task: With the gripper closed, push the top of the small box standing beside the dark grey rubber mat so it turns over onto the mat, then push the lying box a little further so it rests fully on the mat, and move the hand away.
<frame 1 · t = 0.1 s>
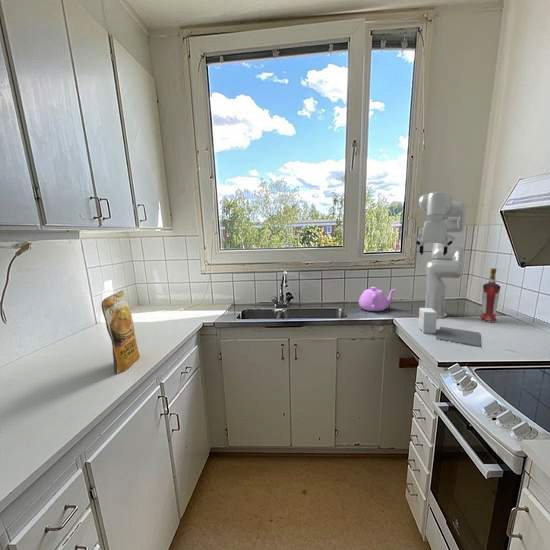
hand: (432, 254, 138), 37 cm above the worktop, tool pointing down, fingers open, 9 cm apart
teapot: (376, 309, 178), on the worktop
mat: (458, 336, 131), on the worktop
pancake mix bag: (125, 364, 111), on the worktop
liquor: (487, 321, 152), on the worktop
small box: (426, 331, 139), on the worktop
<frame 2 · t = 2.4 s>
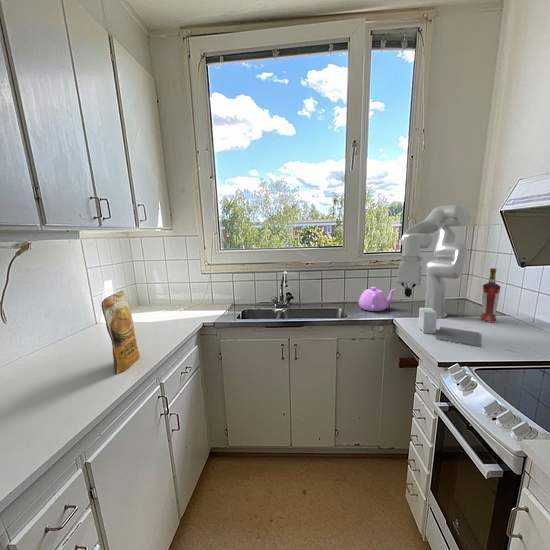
hand: (407, 296, 141), 16 cm above the worktop, tool pointing down, fingers closed
nothing on the worktop moved.
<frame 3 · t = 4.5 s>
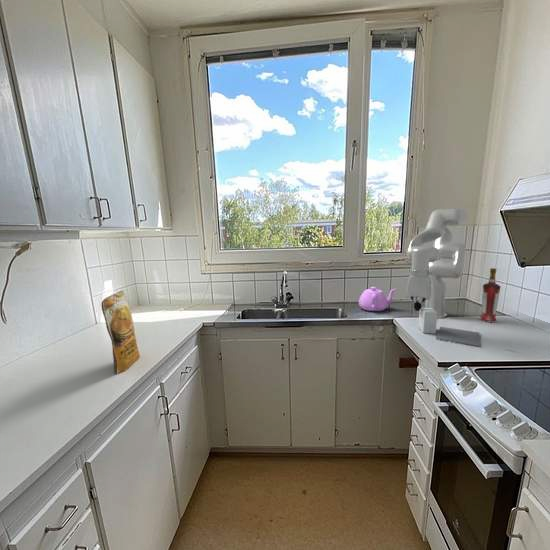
hand: (417, 310, 140), 10 cm above the worktop, tool pointing down, fingers closed
small box: (426, 331, 139), on the worktop, touching gripper
everything else where it was.
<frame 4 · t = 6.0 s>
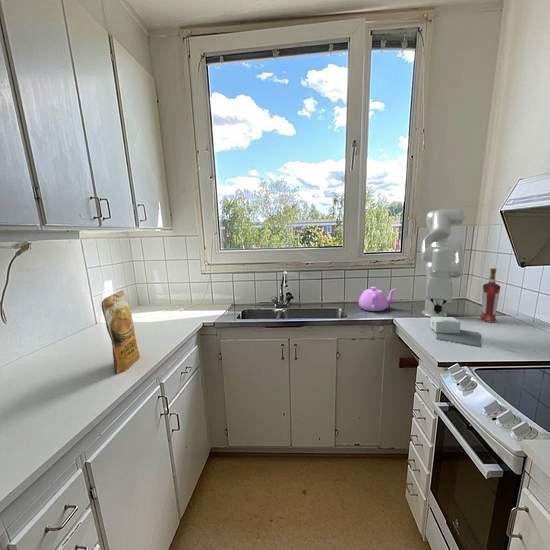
hand: (437, 312, 135), 10 cm above the worktop, tool pointing down, fingers closed
small box: (432, 324, 138), point 3 cm above the worktop, touching mat
everything else where it was.
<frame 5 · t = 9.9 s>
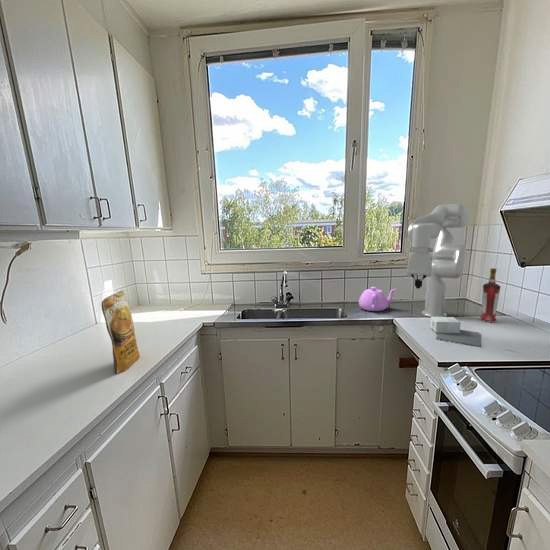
hand: (418, 287, 139), 21 cm above the worktop, tool pointing down, fingers closed
nothing on the worktop moved.
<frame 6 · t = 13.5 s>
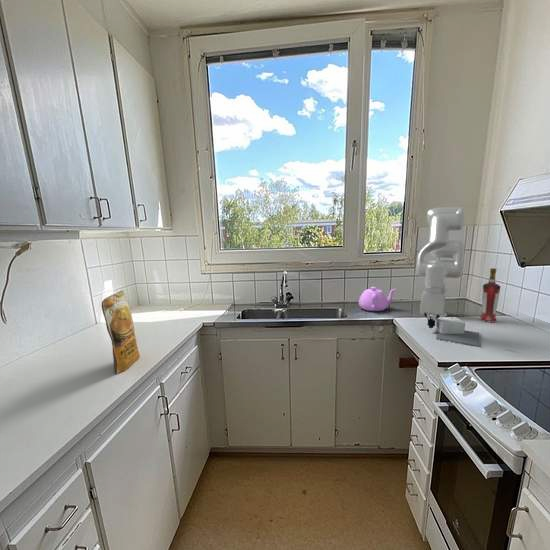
hand: (431, 327, 138), 2 cm above the worktop, tool pointing down, fingers closed
small box: (436, 325, 137), point 3 cm above the worktop, touching gripper
everything else where it was.
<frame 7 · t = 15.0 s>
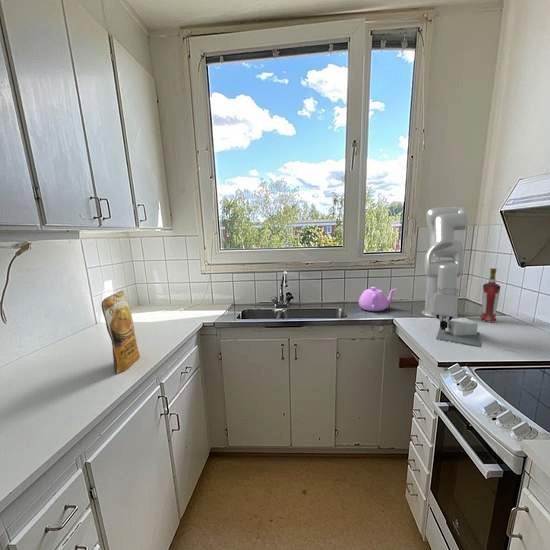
hand: (443, 329, 135), 2 cm above the worktop, tool pointing down, fingers closed
small box: (449, 326, 134), point 3 cm above the worktop, touching gripper, mat
everything else where it was.
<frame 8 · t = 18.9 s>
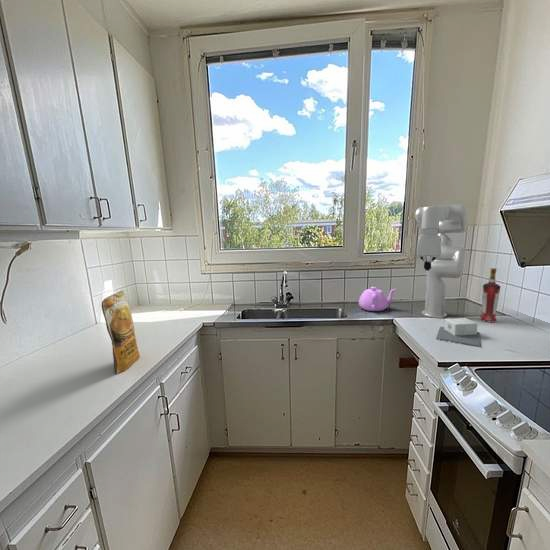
hand: (427, 270, 140), 29 cm above the worktop, tool pointing down, fingers closed
small box: (449, 327, 134), point 3 cm above the worktop, touching mat
everything else where it was.
at the end: small box tilted 90°; small box inside the target area on the mat (2.8 cm from its centre), point 3.4 cm above the mat's base; the gripper is holding nothing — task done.
